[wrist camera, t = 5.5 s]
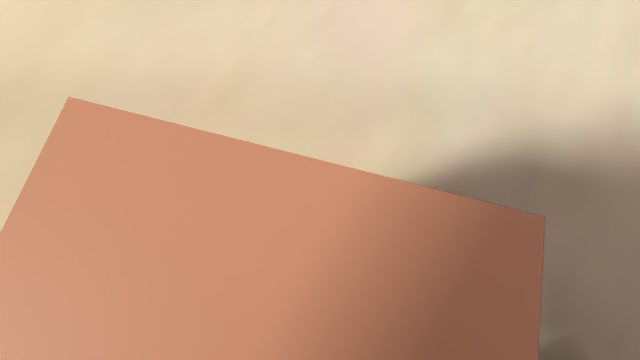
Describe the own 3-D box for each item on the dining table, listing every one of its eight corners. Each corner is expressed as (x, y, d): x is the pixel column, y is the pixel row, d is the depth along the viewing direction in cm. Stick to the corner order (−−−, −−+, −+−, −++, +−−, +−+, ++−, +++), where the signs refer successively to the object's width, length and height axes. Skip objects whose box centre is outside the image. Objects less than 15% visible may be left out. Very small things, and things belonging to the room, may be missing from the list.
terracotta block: (323, 386, 14) (507, 988, 2) (203, 357, 14) (-290, 813, 2) (348, 264, 16) (544, 216, 4) (240, 237, 15) (68, 96, 4)
